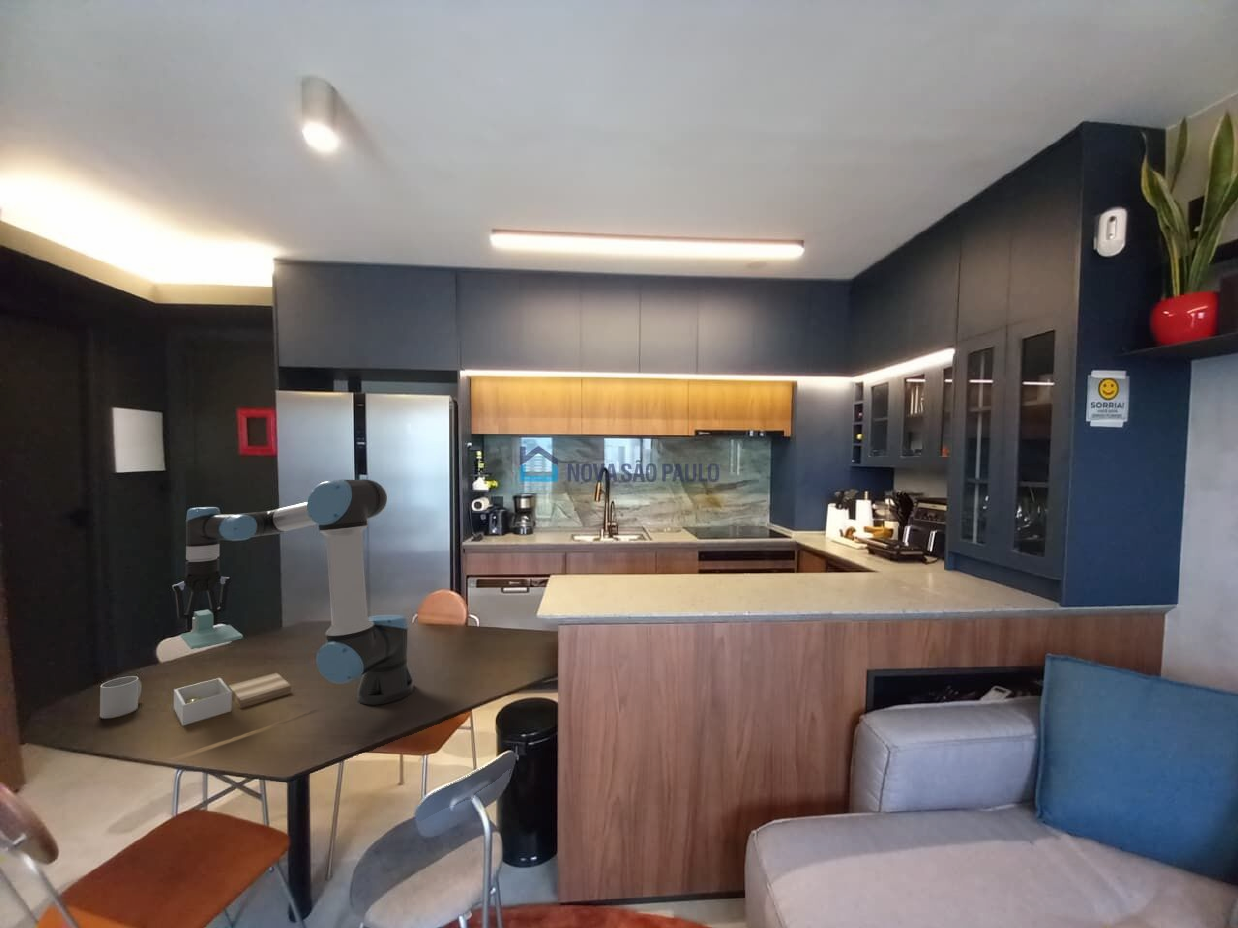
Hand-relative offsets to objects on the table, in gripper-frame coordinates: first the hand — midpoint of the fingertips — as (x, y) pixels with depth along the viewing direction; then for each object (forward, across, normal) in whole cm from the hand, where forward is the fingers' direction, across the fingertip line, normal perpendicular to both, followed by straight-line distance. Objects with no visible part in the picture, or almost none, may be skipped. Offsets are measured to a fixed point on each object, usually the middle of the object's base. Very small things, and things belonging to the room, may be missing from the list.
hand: (201, 638), depth 141 cm
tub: (+17, +2, +12) cm, 21 cm away
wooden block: (+17, -11, +12) cm, 24 cm away
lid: (-2, 0, +9) cm, 9 cm away
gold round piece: (+16, +3, +9) cm, 19 cm away
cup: (+17, +16, -5) cm, 24 cm away
